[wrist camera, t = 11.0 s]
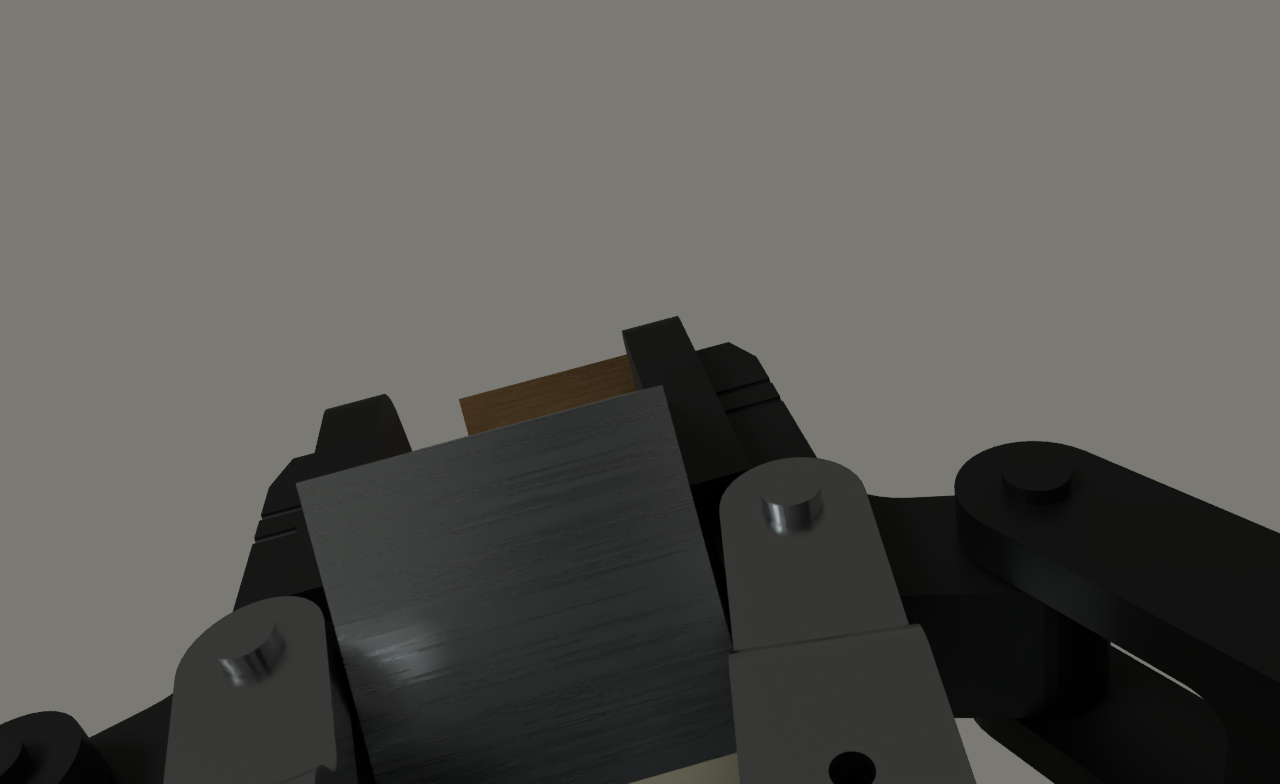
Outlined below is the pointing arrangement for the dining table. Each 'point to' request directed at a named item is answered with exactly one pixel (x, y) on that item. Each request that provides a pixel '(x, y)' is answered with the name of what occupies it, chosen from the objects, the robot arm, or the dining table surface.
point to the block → (529, 593)
